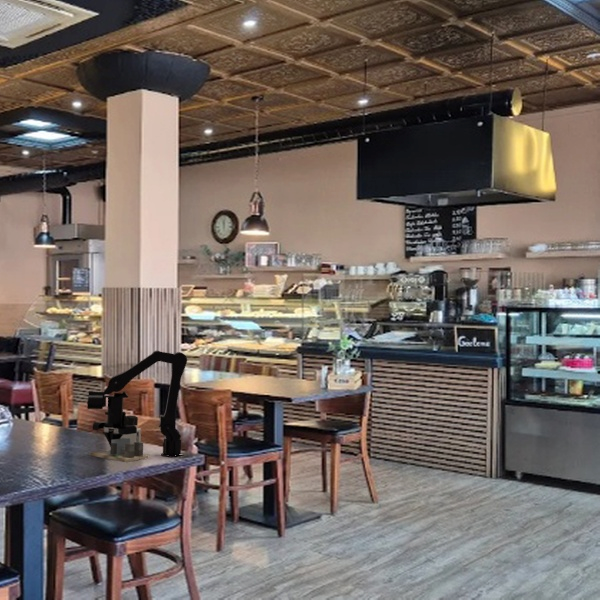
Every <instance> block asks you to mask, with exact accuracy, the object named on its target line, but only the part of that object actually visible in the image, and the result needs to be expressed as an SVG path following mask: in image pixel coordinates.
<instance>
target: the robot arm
mask: <svg viewBox="0 0 600 600" xmlns="http://www.w3.org/2000/svg"><path fill="white" fill-rule="evenodd" d="M187 357H188V356H186V355H185V353H183V352H181V351H177V352H174V353H172V352H166V351H160V350H154V351H153V352H152V353H151V354H149V355H148V356H146V357H145V358H143V359H142V360H140V361H139V362H137V363H136V364H135V365H133V366H131V367H130V368H129V369H127V370H125V371H123V372H120V373H118V374H115V375H113V376H111V378H109V381H108V384H107V387H106V388H104V390H103V391H94V390H89V391H88V394H87V395H88V396H87V402H86V403H87V405H86V407H87V410H104V409H103V408H104V407H107V411H105V412H104V415H106V416H107V419H106V420H105V421H104V420H102V421H94V422H93V424H92V431H93V430H94V431H99V430H100V429H101V430H102V429H103V431H102V434H103V435H104V436H105V438H106V440H107V442H108V445H109V447H110V448H111V440H114V439H120V438H121V436H122V435H123V434H124V435H127V434H134V433H137V428H138V427H137V428H136V426H133V424H134V421H135V419H133V418H130V417H127V416H128V415H126V414H127V413H126V411H123V410H124V399H127V398H129V395H128V394H127V392H126V391H125V390H124V391H122V390H123V389H124V388H125V387H126V386H127V385H128V384H129V383H130V382H131V381H132V380H133V379H134V378H135V377H137V376H138V375H140V374H141V373H143V372H144V371H146V370H147V369H149V368H151V367H152V366H153V365H154V364H156V363H158V362H162V363H165V364H166V363H167V364H170V366H171V369H170V370H171V371H170V372H171V377H170V382H169V383H170V384H169V389H168V394H167V395H168V396H167V401H166V407H165V412H164V414H160V415H159V422H158V428H159V429H160V433H161V435H162V436H163V437H165V438H163V442H162V453H160V454H161V455H160V456H163V455H169V456H175V455H179V454H182V439H181V438H182V437H181V436H182V435H181V433H180V431H179V430H178V429H177V428H176V424H177V423H176V422H177V420H176V412H177V411H176V410H177V404H178V399H179V392H180V386H181V380H182V377H183V374H184V371H185V369H186V365H187V364H188V358H187ZM120 391H122V392H120ZM113 392H114V393H113ZM112 393H113V394H112ZM111 394H112V395H111ZM169 456H168V457H169ZM175 457H176V456H175Z"/></svg>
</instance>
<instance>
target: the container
mask: <svg viewBox="0 0 600 600" xmlns="http://www.w3.org/2000/svg"><path fill="white" fill-rule="evenodd" d="M126 416H127V417H130V418H133V419H135V421H134V424H133V426H136V428H137V433H134V434H127V435H124V434H123V435H122V436H121V438H130V443H132V444H134V442H141V441H142V439H141V438H142V436H141V435H142V428H140V427H138V423H139V421H138V420H139V418H138V416H136V415H129V414H128V415H126ZM121 438H120V439H121Z"/></svg>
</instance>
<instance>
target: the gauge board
mask: <svg viewBox="0 0 600 600" xmlns="http://www.w3.org/2000/svg"><path fill="white" fill-rule="evenodd" d="M107 450H108V449H106V450H100V451H92V452H89V456H91V457H97V458H102V459H107V460H112V461H113V460H114V461H119V462H125V463H129V462H134V461H139V459H141V460H146V459H145V458H147V459H149V455H147V454H144V442H134V444H132V443H126V444H125V454H120V455H111V454H107ZM134 450H135V451H134Z"/></svg>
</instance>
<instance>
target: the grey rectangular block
mask: <svg viewBox="0 0 600 600" xmlns="http://www.w3.org/2000/svg"><path fill="white" fill-rule="evenodd" d="M111 443H117V454H115V455H120V454H125V444H126V443H130V438H121V439H114V440H111ZM106 450H107V454H110V451H111V449H106ZM134 451H135V450H134ZM111 455H112V454H111Z"/></svg>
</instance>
